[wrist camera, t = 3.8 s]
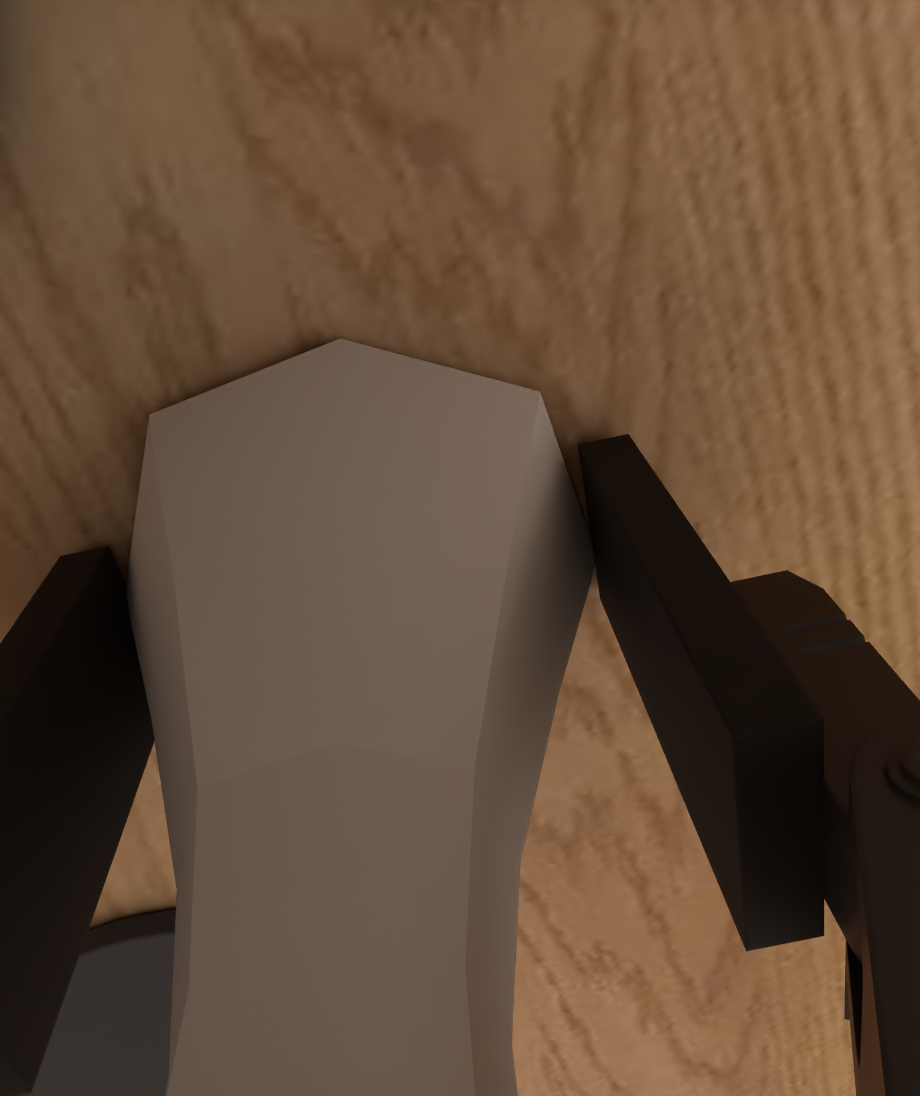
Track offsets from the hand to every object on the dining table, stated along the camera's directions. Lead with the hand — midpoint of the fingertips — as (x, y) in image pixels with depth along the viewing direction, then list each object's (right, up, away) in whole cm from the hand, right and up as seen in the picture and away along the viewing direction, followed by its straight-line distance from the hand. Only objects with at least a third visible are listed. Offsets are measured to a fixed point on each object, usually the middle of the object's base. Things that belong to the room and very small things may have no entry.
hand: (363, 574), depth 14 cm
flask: (0, 0, 0) cm, 0 cm away
